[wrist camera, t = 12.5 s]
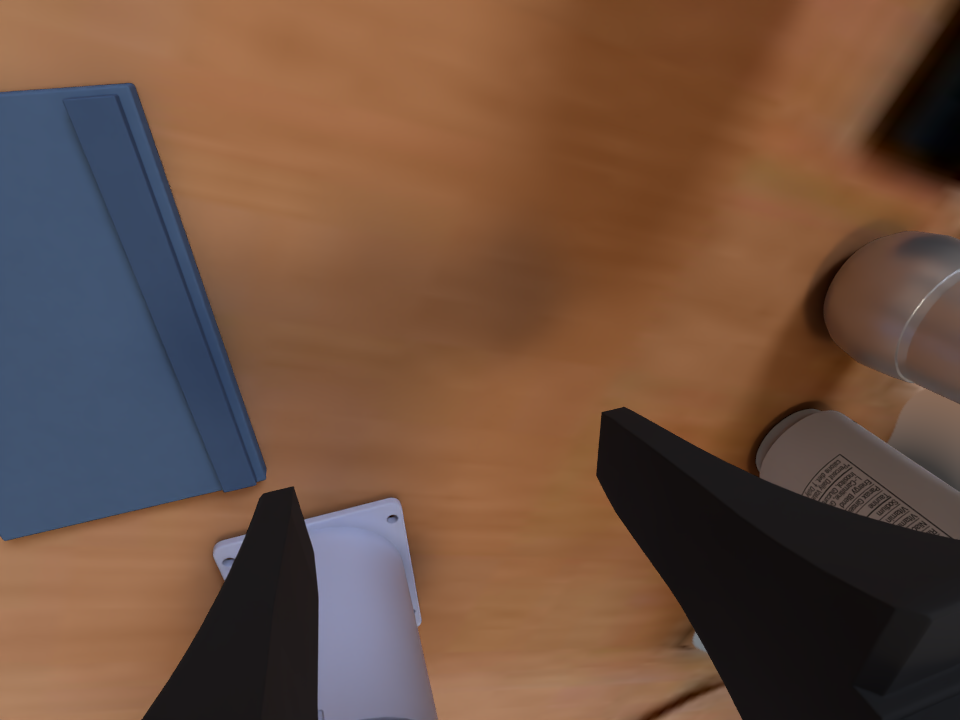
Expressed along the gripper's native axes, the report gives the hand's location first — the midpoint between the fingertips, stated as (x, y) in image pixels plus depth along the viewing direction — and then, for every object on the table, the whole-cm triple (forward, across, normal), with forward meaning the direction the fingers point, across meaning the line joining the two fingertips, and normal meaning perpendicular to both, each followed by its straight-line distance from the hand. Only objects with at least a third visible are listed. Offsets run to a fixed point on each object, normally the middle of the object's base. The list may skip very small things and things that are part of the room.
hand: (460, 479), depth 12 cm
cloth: (+9, +10, -1) cm, 14 cm away
